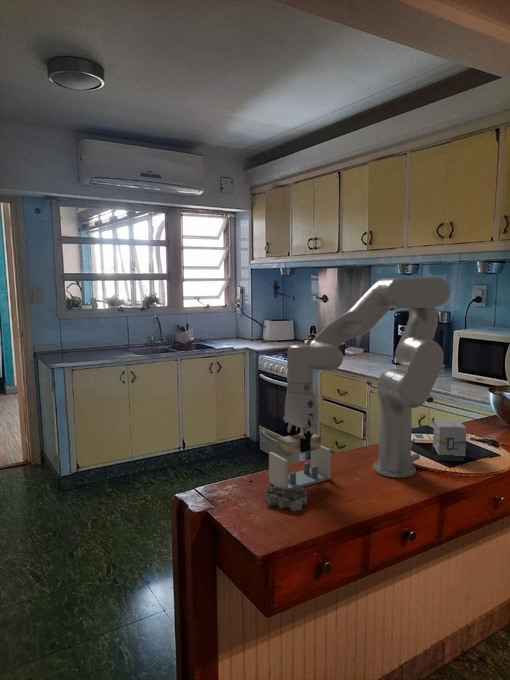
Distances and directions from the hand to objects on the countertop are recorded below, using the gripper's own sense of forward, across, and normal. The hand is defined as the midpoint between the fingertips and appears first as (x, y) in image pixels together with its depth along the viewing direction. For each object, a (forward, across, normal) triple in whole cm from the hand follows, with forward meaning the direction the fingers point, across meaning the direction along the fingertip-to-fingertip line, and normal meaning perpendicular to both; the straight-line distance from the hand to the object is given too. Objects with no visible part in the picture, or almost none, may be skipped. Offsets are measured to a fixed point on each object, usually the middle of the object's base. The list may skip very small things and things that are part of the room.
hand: (299, 447), depth 137 cm
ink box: (+10, -12, -53) cm, 56 cm away
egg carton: (+11, -10, +12) cm, 18 cm away
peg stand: (+10, 0, 0) cm, 10 cm away
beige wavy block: (+1, 0, 0) cm, 1 cm away
